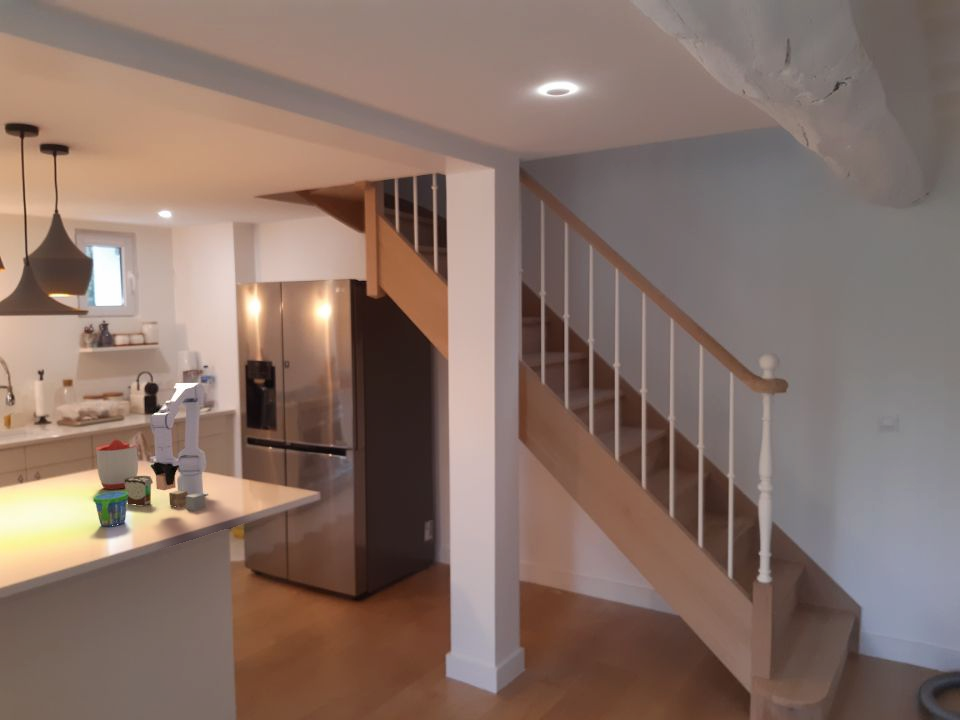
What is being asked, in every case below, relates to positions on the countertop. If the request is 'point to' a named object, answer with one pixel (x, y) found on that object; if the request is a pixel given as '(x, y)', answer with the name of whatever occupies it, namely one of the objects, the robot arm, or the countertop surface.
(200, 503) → the slate block
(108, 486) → the citrus juicer
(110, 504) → the snack cup
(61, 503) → the countertop surface
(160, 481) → the terracotta block
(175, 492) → the walnut block
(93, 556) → the countertop surface
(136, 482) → the food container
